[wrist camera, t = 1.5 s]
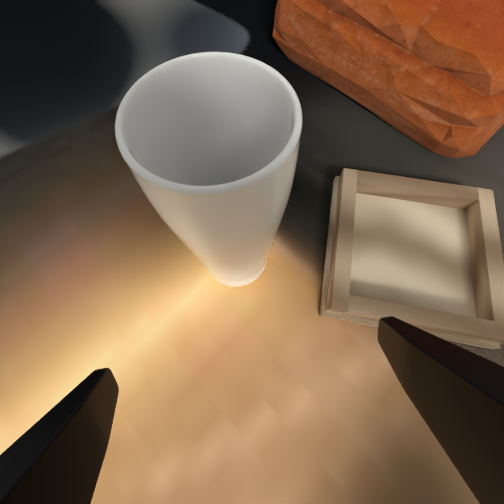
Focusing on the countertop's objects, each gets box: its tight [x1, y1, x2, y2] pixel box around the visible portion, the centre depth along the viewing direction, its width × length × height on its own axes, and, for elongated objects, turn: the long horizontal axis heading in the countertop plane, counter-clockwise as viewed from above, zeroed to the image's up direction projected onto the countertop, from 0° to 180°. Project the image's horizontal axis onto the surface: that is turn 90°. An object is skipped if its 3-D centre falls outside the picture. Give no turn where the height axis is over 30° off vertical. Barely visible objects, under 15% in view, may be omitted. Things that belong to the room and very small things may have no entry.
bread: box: [273, 0, 504, 158], centre depth 27 cm, size 16×27×11 cm, turn 44°
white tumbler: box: [115, 52, 302, 287], centre depth 16 cm, size 7×7×15 cm
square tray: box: [319, 168, 504, 349], centre depth 22 cm, size 13×13×2 cm
